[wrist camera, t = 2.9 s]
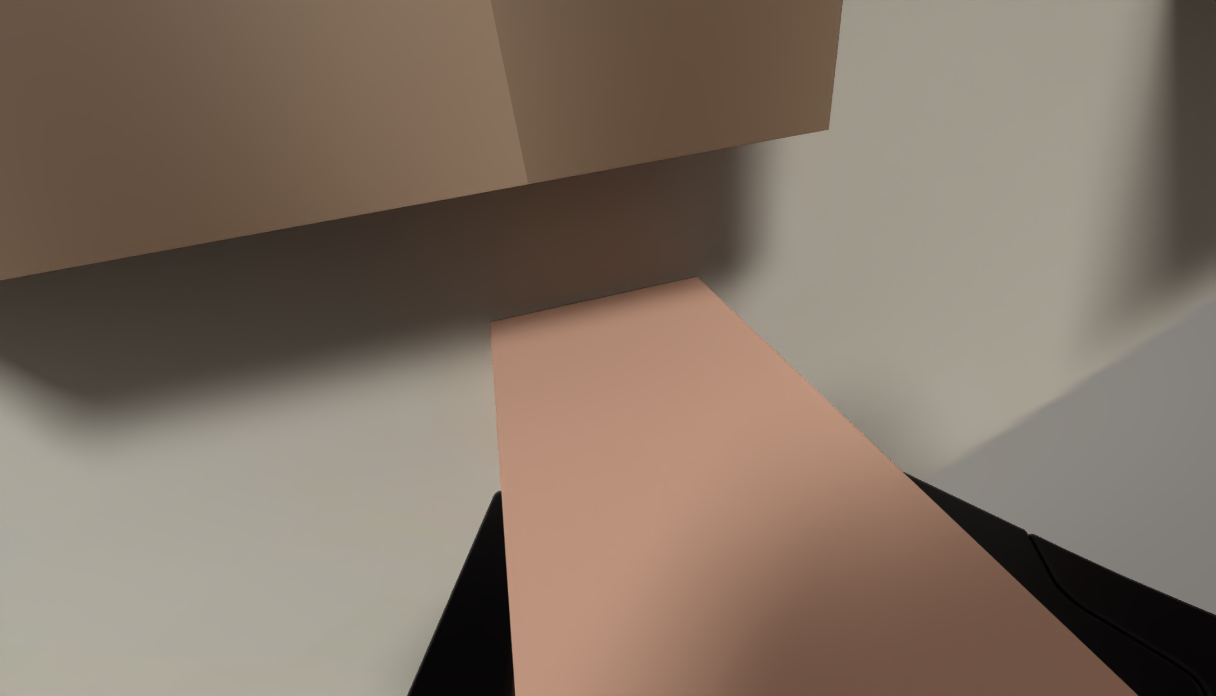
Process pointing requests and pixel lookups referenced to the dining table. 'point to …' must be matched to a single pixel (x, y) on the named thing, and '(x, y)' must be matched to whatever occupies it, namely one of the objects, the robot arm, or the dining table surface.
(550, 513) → the peg
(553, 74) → the socket block
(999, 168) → the dining table surface
